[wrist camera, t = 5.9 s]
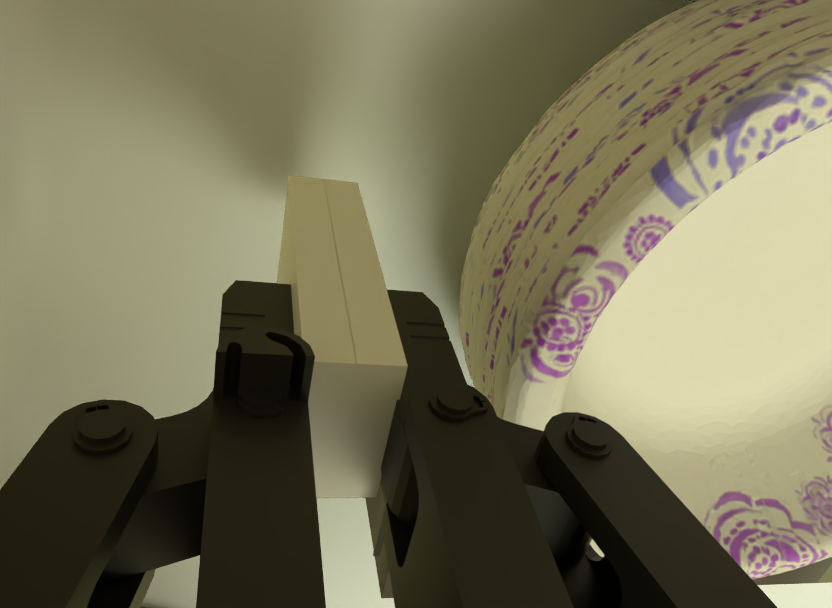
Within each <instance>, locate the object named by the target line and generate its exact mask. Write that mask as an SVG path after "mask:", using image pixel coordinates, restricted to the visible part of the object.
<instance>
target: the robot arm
mask: <svg viewBox="0 0 832 608" xmlns="http://www.w3.org/2000/svg"><path fill="white" fill-rule="evenodd" d="M381 476H382V477H383V482H384V488H385V493H386V498H385V502H384V506H383V511H382V515H381V519H380V523H379V527H378V531H377V535H376V539H375V543H374V552H373V556H380V554H381V550H382V546H383V542H384V544H385V550H386V556H387V562H388V567H389V573H390V579H391V585H392V591H393V597H394V603H395V608H777V607H776V606H775V604H774V603H773V602H772V601H771V600H770V599H769V598H768V597H767V596H766V594H765V593H764V592H763V591H762V590H761V589H760V588H759V587H758V586H757V584H756V583H755V582H754V581H753V580H752V579H751V578H750V577H749V576H748V575H747V573H746V572H745V571H744V570H743V569H742V568H741V567H740V566H739V565H738V563H737V562H736V561H735V560H734V559H733V558H732V557H731V556H730V555H729V553H728V552H727V551H726V550H725V549H724V548H723V547H722V546H721V545H720V543H719V542H718V541H717V540H716V539H715V538H714V537H713V536H712V535H711V534H710V532H709V531H708V530H707V529H706V528H705V527H704V526H703V525H702V524H701V522H700V521H699V520H698V519H697V518H696V517H695V516H694V515H693V514H692V512H691V511H690V510H689V509H688V508H687V507H686V506H685V505H684V504H683V502H682V501H681V500H680V499H679V498H678V497H677V496H676V495H675V494H674V493H673V491H672V490H671V489H670V488H669V487H668V486H667V485H666V484H665V483H664V481H663V480H662V479H661V478H660V477H659V476H658V475H657V474H656V473H655V471H654V470H653V469H652V468H651V467H650V466H649V465H648V464H647V463H646V461H645V460H644V459H643V458H642V457H641V456H640V455H639V454H638V453H637V452H636V450H635V449H634V448H633V447H632V446H631V445H630V444H629V443H628V442H627V440H626V439H625V438H624V437H623V436H622V435H621V434H620V433H619V432H618V431H616V430H615V429H614V428H613V427H612V426H610V425H609V424H608V423H606V422H604V421H602V420H600V419H598V418H596V417H594V416H590V415H586V414H583V413H579V412H563V413H560V414H558V415H555V416H552V418H551V419H550V420H549V421H548V423H547V424H546V426H545V429H544V431H541V430H537V429H534V428H530V427H526V426H522V425H519V424H515V423H512V422H509V421H506V420H503V419H501V418H499V417H497V415H496V412H495V410H494V408H493V406H492V405H491V403H490V402H489V400H488V399H487V397H486V396H484V395H483V394H482V393H480V392H479V391H478V390H477V389H475V388H473V387H471V386H469V385H467V383H466V381H465V378H464V375H463V373H462V370H461V367H460V365H459V362H458V359H457V357H456V354H455V351H454V349H453V346H452V343H451V341H449V335H448V332H447V330H446V328H445V327H444V322H443V319H442V316H441V314H440V311H439V308H438V307H437V306H436V305H435V304H434V303H433V302H432V301H431V300H430V299H429V298H428V297H427V296H426V295H425V294H424V293H423V292H410V291H397V290H387V289H386V285H385V281H384V278H383V274H382V271H381V267H380V263H379V260H378V256H377V252H376V249H375V245H374V241H373V238H372V234H371V230H370V227H369V223H368V220H367V216H366V212H365V209H364V205H363V201H362V198H361V194H360V190H359V187H358V183H353V182H344V181H335V180H326V179H318V178H309V177H300V176H291V175H289V179H288V188H287V197H286V206H285V215H284V224H283V233H282V242H281V251H280V260H279V270H278V279H277V283H265V282H252V281H238V280H236V281H235V282H234V283H233V284H232V285H231V286H230V287H229V288H228V290H227V291H226V292H225V293H224V294H223V298H222V310H221V322H220V333H219V345H218V349H217V351H216V363H215V379H214V388H213V391H212V392H211V394H210V395H209V397H208V398H207V399H206V400H205V401H203V402H202V403H201V404H200V405H198V406H197V407H195V408H193V409H191V410H189V411H187V412H184V413H181V414H177V415H174V416H170V417H165V418H160V419H155V420H154V417H153V416H152V415H151V414H150V413H148V412H147V411H146V410H145V409H144V408H142V407H141V406H138V405H135V404H132V403H129V402H126V401H120V400H98V401H93V402H87V403H82V404H80V405H78V406H76V407H73V408H71V409H69V410H67V411H64V412H63V413H62V414H61V415H60V416H58V417H57V418H56V419H55V420H54V421H53V422H52V423H51V424H50V425H49V426H48V427H47V429H46V430H45V431H44V433H43V434H42V435H41V437H40V438H39V439H38V441H37V442H36V443H35V445H34V446H33V447H32V449H31V450H30V451H29V453H28V454H27V455H26V457H25V458H24V459H23V461H22V462H21V463H20V465H19V466H18V467H17V469H16V470H15V471H14V473H13V474H12V475H11V476H10V478H9V479H8V480H7V482H6V483H5V484H4V486H3V487H2V488H1V490H0V608H140V606H141V604H142V602H143V599H144V597H145V595H146V592H147V590H148V588H149V586H150V583H151V581H152V579H153V577H154V572H155V569H156V568H159V567H162V566H166V565H169V564H172V563H175V562H179V561H182V560H185V559H189V558H192V557H195V556H198V555H200V566H199V579H198V591H197V603H196V608H326V605H325V593H324V582H323V570H322V558H321V547H320V535H319V523H318V512H317V500H316V498H376V497H377V493H378V489H379V485H380V480H381ZM592 539H593V540H594V542H595V543H596V544H597V546H598V547H599V548H600V550H601V551H602V553H603V554H604V557H601V556H599V554H598V553H597V552H596V551H595V550H594V549H593V548H592V546H591V545H590V542H591V540H592Z"/></svg>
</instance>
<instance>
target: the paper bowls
mask: <svg viewBox="0 0 832 608" xmlns="http://www.w3.org/2000/svg"><path fill="white" fill-rule="evenodd" d="M459 325H460V331H461V338H462V344H463V349H464V353H465V360H466V363H467V367H468V370H469V373H470V376H471V378H472V380H473V384H474V387H475V389H477V390H478V391H479V392H480V393H482V394H483V395H484V396H486V397H487V399H488V400H489V402H490V403H491V405H492V406H493V408H494V410H495V412H496V415H497V417H499V418H501V419H503V420H506V421H509V422H512V423H515V424H519V425H522V426H526V427H530V428H534V429H537V430H541V431H544V429H545V426H546V424H547V423H548V421H549V420H550V419H551V418H552V416H555V415H558V414H560V413H563V412H579V413H583V414H586V415H590V416H594V417H596V418H598V419H600V420H602V421H604V422H606V423H608V424H609V425H610V426H612V427H613V428H614V429H615V430H616V431H618V432H619V433H620V434H621V435H622V436H623V437H624V438H625V439H626V440H627V442H628V443H629V444H630V445H631V446H632V447H633V448H634V449H635V450H636V452H637V453H638V454H639V455H640V456H641V457H642V458H643V459H644V460H645V461H646V463H647V464H648V465H649V466H650V467H651V468H652V469H653V470H654V471H655V473H656V474H657V475H658V476H659V477H660V478H661V479H662V480H663V481H664V483H665V484H666V485H667V486H668V487H669V488H670V489H671V490H672V491H673V493H674V494H675V495H676V496H677V497H678V498H679V499H680V500H681V501H682V502H683V504H684V505H685V506H686V507H687V508H688V509H689V510H690V511H691V512H692V514H693V515H694V516H695V517H696V518H697V519H698V520H699V521H700V522H701V524H702V525H703V526H704V527H705V528H706V529H707V530H708V531H709V532H710V534H711V535H712V536H713V537H714V538H715V539H716V540H717V541H718V542H719V543H720V545H721V546H722V547H723V548H724V549H725V550H726V551H727V552H728V553H729V555H730V556H731V557H732V558H733V559H734V560H735V561H736V562H737V563H738V565H739V566H740V567H741V568H742V569H743V570H744V571H745V572H746V573H747V575H748V576H749V577H750V578H751V579H757V578H763V577H765V576H768V575H776V574H780V573H783V572H786V571H790V570H794V569H797V568H800V567H803V566H806V565H809V564H813V563H816V562H819V561H822V560H824V559H827V558H830V557H832V0H698V1H696V2H694V3H691V4H689V5H687V6H685V7H683V8H681V9H678V10H676V11H674V12H672V13H670V14H668V15H666V16H664V17H662V18H660V19H659V20H657V21H655V22H654V23H652V24H650V25H648V26H647V27H645V28H643V29H641V30H640V31H638V32H637V33H635V34H634V35H633V36H631V37H630V38H629V39H627V40H626V41H625V42H623V43H622V44H621V45H619V46H618V47H617V48H616V49H615V50H613V51H612V52H610V53H609V54H608V55H606V56H605V57H604V58H602V59H601V60H600V61H599V62H598V63H596V64H595V65H594V66H593V67H592V68H590V69H589V70H588V71H587V72H586V73H585V74H584V75H582V76H581V77H580V78H579V79H578V80H577V81H576V82H575V83H574V84H573V85H571V87H570V88H569V89H567V90H566V91H565V92H564V93H563V94H562V95H561V96H560V97H559V98H558V99H557V100H556V101H555V102H554V103H553V104H552V105H551V106H550V107H549V108H548V110H547V111H546V112H545V114H544V115H543V116H542V117H541V119H540V120H539V121H538V123H537V124H536V125H535V127H534V128H533V129H532V131H531V132H530V133H529V135H528V136H527V137H526V139H525V140H524V141H523V142H522V144H521V145H520V146H519V148H518V149H517V150H516V151H515V152H514V154H513V155H512V157H511V158H510V160H509V161H508V163H507V164H506V166H505V167H504V169H503V170H502V172H501V173H500V175H499V176H498V177H497V179H496V180H495V181H494V183H493V185H492V187H491V189H490V191H489V193H488V195H487V197H486V199H485V201H484V203H483V206H482V208H481V211H480V213H479V215H478V217H477V221H476V224H475V227H474V229H473V233H472V237H471V241H470V245H469V249H468V252H467V255H466V259H465V263H464V268H463V273H462V279H461V289H460V309H459ZM590 545H591V546H592V548H593V549H594V550H595V551H596V552H597V553H598V554H599V556H601V557H604V554H603V553H602V551H601V550H600V548H599V547H598V546H597V544H596V543H595V542H594V540H593V539H592V540H591V542H590Z"/></svg>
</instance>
